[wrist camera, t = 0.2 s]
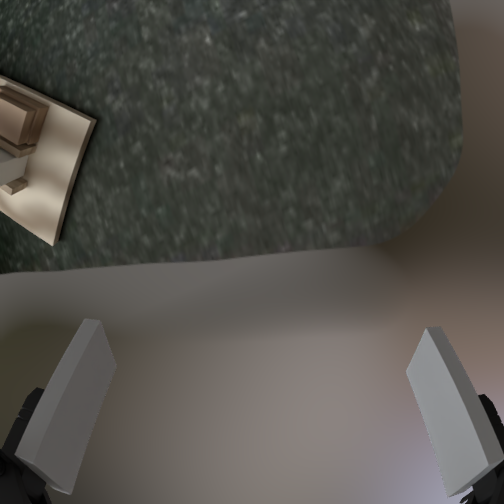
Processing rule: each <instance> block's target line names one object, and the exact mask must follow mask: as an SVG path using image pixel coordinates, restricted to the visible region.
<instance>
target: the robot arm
mask: <svg viewBox="0 0 504 504" xmlns="http://www.w3.org/2000/svg"><path fill="white" fill-rule="evenodd" d="M116 367H117V365H116V363H115V360H114V357H113V355H112V352H111V349H110V346H109V344H108V341H107V338H106V335H105V332H104V329H103V326H102V323H101V321H100V320H93V319H84V321H83V322H82V324H81V326H80V328H79V329H78V331H77V332H76V334H75V336H74V338H73V340H72V341H71V343H70V345H69V346H68V348H67V350H66V352H65V353H64V355H63V357H62V359H61V361H60V363H59V364H58V366H57V368H56V370H55V372H54V374H53V375H52V377H51V379H50V381H49V383H48V385H47V387H46V389H45V390H44V389H41V388H36V389H35V390H33V391H32V393H30V394H29V395H28V396H27V398H26V400H25V402H24V404H23V406H22V409H21V410H20V412H19V414H18V418H16V420H15V422H14V424H13V426H12V428H11V430H10V433H9V434H8V437H7V439H6V441H5V443H4V446H3V447H2V449H0V504H52V503H51V500H50V498H49V496H48V493H47V491H46V490H45V485H46V483H47V484H48V485H49V486H51V487H52V488H53V489H56V490H58V491H61V492H63V493H66V494H69V495H71V493H72V490H73V487H74V484H75V480H76V477H77V474H78V471H79V468H80V465H81V462H82V459H83V456H84V453H85V449H86V447H87V444H88V441H89V438H90V435H91V433H92V430H93V427H94V424H95V421H96V419H97V416H98V413H99V411H100V408H101V405H102V402H103V400H104V397H105V395H106V392H107V389H108V387H109V385H110V382H111V379H112V377H113V374H114V372H115V370H116ZM406 374H407V377H408V379H409V382H410V384H411V387H412V389H413V392H414V395H415V397H416V400H417V403H418V406H419V409H420V411H421V414H422V417H423V420H424V423H425V426H426V429H427V431H428V435H429V437H430V441H431V444H432V447H433V450H434V453H435V456H436V459H437V463H438V466H439V469H440V473H441V476H442V480H443V483H444V487H445V490H446V494H447V497H451V496H454V495H457V494H459V493H462V492H464V491H466V490H467V489H468V488H470V487H471V486H473V491H472V492H470V493H469V494H468V495H466V496H465V497H463V498H462V500H461V501H460V503H463V502H464V501H466V500H467V499H468V501H467V502H466V503H465V504H504V426H503V424H502V423H501V419H500V417H499V415H497V414H498V413H497V411H496V408H495V407H494V404H493V402H492V401H491V400H490V399H489V398H488V397H487V396H486V395H485V394H482V395H477V393H476V391H475V389H474V387H473V385H472V383H471V381H470V379H469V377H468V375H467V374H466V371H465V369H464V368H463V366H462V364H461V362H460V360H459V358H458V356H457V355H456V353H455V351H454V349H453V347H452V346H451V344H450V342H449V340H448V338H447V337H446V335H445V333H444V331H443V330H442V328H441V327H440V326H439V327H427V328H426V329H425V331H424V333H423V336H422V338H421V340H420V343H419V345H418V347H417V349H416V351H415V354H414V356H413V358H412V360H411V362H410V364H409V366H408V368H407V370H406Z"/></svg>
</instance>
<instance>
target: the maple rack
mask: <svg viewBox="0 0 504 504" xmlns="http://www.w3.org/2000/svg"><path fill="white" fill-rule="evenodd" d="M4 85H5V86H7V87H9V88H11V89H13V90H15V91H17V92H20V93H22V94H24V95H26V96H28V97H30V98H32V99H34V100H36V101H38V102H40V103H42V104H44V105H46V106H48V107H49V109H48V112H47V115H46V118H45V121H44V124H43V127H42V130H41V133H40V137H39V140H38V142H36V143H33V144H30V145H28V144H26V143H23V144H20V145H16V144H14V143H13V142H11V141H9V140H8V139H6V138H4V137H3V136H1V135H0V147H1V148H3V149H5V150H6V151H8V152H9V153H11V154H13V155H14V156H16V157H17V158H21V157H24V156H26V155H29V156H28V160H27V164H26V168H25V173H24V176H22V177H20V178H17V179H15V180H13V181H11V182H9V183H7V184H5V185H3V186H0V211H2V212H3V213H5V214H6V215H7V216H9V217H10V218H12V219H13V220H15V221H16V222H17V223H19V224H20V225H22V226H23V227H25V228H26V229H28V230H29V231H31V232H32V233H34V234H35V235H37V236H38V237H40V238H41V239H43V240H44V241H46V242H47V243H49V244H50V245H52V246H53V245H55V244H56V243H57V242H58V240H59V236H60V231H61V227H62V224H63V220H64V216H65V212H66V209H67V205H68V201H69V198H70V195H71V191H72V188H73V185H74V182H75V178H76V175H77V172H78V169H79V166H80V163H81V161H82V158H83V155H84V152H85V149H86V147H87V144H88V141H89V139H90V136H91V133H92V131H93V128H94V126H95V123H96V121H97V120H95V119H93V118H91V117H89V116H87V115H85V114H83V113H81V112H79V111H77V110H75V109H73V108H71V107H69V106H67V105H65V104H63V103H60V102H58V101H56V100H54V99H52V98H50V97H48V96H46V95H44V94H42V93H39V92H37V91H35V90H33V89H31V88H29V87H26V86H24V85H22V84H20V83H18V82H15V81H13V80H11V79H9V78H7V77H4V76H2V75H0V86H4Z"/></svg>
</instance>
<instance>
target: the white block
mask: <svg viewBox="0 0 504 504" xmlns="http://www.w3.org/2000/svg"><path fill="white" fill-rule="evenodd" d="M28 156H29V155H26V156H24V157H21V158H17V157H16V156H14V155H13V154H11V153H9V152H8V151H6V150H5V149H3V148H1V147H0V186H3V185H5V184H7V183H9V182H11V181H13V180H15V179H17V178H20V177H22V176H24V173H25V168H26V164H27V160H28Z"/></svg>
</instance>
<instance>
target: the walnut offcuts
mask: <svg viewBox="0 0 504 504" xmlns="http://www.w3.org/2000/svg"><path fill="white" fill-rule="evenodd" d="M48 109H49V107H48V106H46V105H44V104H42V103H40V102H38V101H36V100H34V99H32V98H30V97H28V96H26V95H24V94H22V93H20V92H17V91H15V90H13V89H11V88H9V87H7V86H5V85H4V86H0V135H1V136H3V137H4V138H6V139H8V140H9V141H11V142H13V143H14V144H16V145H20V144H23V143H26V144H28V145H30V144H33V143H36V142H38V140H39V137H40V133H41V130H42V127H43V124H44V121H45V118H46V115H47V112H48Z"/></svg>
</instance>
